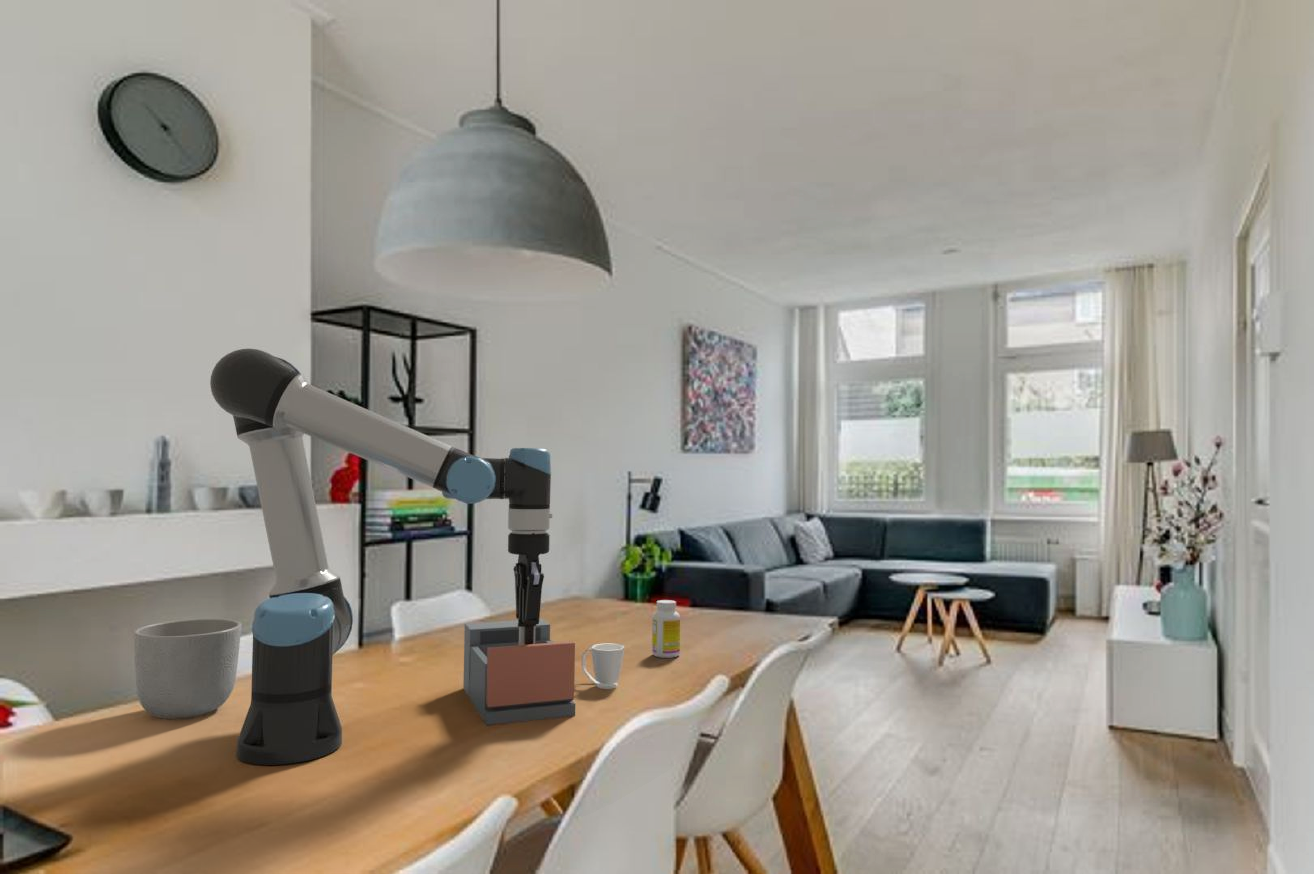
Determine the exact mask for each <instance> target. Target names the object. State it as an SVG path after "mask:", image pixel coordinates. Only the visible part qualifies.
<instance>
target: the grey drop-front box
mask: <svg viewBox="0 0 1314 874" xmlns="http://www.w3.org/2000/svg"><path fill="white" fill-rule="evenodd" d="M542 643H555V642H554V641H553V640H552V639H550V640H538V641H535V644H542ZM514 645H519V642H510V643H496V644H482V645H470V673H469V697H468V698H469V700H470V701H471V703H472V704H473V706H474V707H475V710H476V712H477V713H478V714H479V715H480V718H481V719H482V720H483V722H484V723H485V725H486V726H491V725H498V724H499V725H500V724H508V723H517V722H526V721H534V720H535V721H536V720H547V719H555V718H563V717H574V716H576V703H575V702H574V700H571V701H561V702H552V703H542V704H532V705H522V706H512V707H502V708H493V709H487V707H486V689H487V647H501V646H514Z"/></svg>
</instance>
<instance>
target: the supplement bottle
mask: <svg viewBox="0 0 1314 874" xmlns="http://www.w3.org/2000/svg"><path fill="white" fill-rule="evenodd" d="M676 607H677V601H675V600H671V599H670V600H669V599H661V600H657V601H656V608H657V610H656V611H654V613H652V627H651V628H652V629H651V631H652V634H651V635H652V637H651V639H652V640H651V641H652V642H651V643H652V644H651V645H652V647H651V648H652V650H651V652H652V655H653V656H654V657H656V658H663V659H670V658H671V659H672V658H676V657H678V656H680V654H681V653H680V652H681V616H680V613H679V612H678V611H676Z"/></svg>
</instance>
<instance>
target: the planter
mask: <svg viewBox="0 0 1314 874" xmlns="http://www.w3.org/2000/svg"><path fill="white" fill-rule="evenodd" d="M242 627H243V625H242V622H240V621H238V620H234V619H227V618H191V619H180V620H179V619H178V620H171V621H164V622H158V623H153V624H148V625H145V626H142V627H139V628H137V629H135V630H134V631H133V635H132V636H133V651H134V652H133V654H134V655H133V656H134V657H133V658H134V673H135V690H136V695H137V698H138V701H139V704H140V705H141V707H142V709H144V710H145V712H147V713H148V714H149V715H151V716H153V717H154V718H158V719H159V718H161V719H166V720H182V719H189V718H195V717H199V716H203V715H206V714H209V713H212V712H214V711H216V710H217V709H219V708H220V707H222V706H223V705H224V703H226V702H227V701H228V699H229V698H230V696H231V695H232V693H233V690H234V688H235V684H236V679H237V672H238V664H239V662H238V661H239V654H240V646H241V645H240V644H241V635H242V634H241V633H242Z"/></svg>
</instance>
